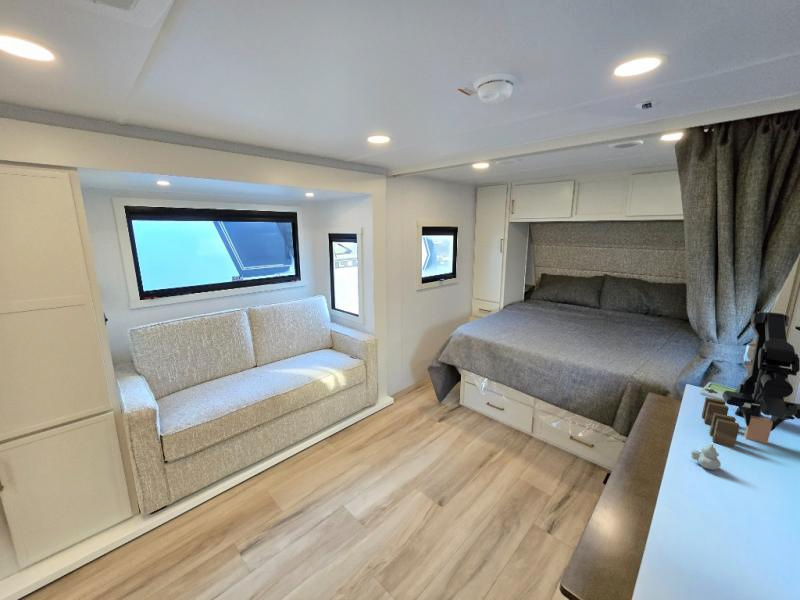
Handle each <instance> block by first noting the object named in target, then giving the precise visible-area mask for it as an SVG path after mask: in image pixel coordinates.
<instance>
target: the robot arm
mask: <svg viewBox="0 0 800 600" xmlns="http://www.w3.org/2000/svg"><path fill="white" fill-rule="evenodd" d="M789 322H790V316H787V314H784V313H778V312H771V311H757V312H754V313H752V314H751V319H750V323H751V324H752V326H751V328H752V330H753V331H754V334H755V335H756V339H755V345H754V351H753V356H752V361H751V367H750V373H749V374H748V375H747V376H746V377H744V378H743V379H742V381H741V383H739V384H738V386H737V388H736V389H737V391H736V392H732V391H725V392H724V393H723V398H724V400H725V404H727V405H728V406H735V407H738V408H737V409H736V410H735V413H734V414H735V415H736V416H740V417H742V418H743V419H744V422H745V426H746V427H747V426H749V423H750V417H751V416H756V417H761V418H763V414H764V415H765V416H771V417H770V420H772V421H773V424H772V428H771V432H773V431H774V430H775V429H776V428H778V426H779V425H780V424H781V423H783V422H784V421H786V420H792V421H793V420H795V419H798V420H800V403H796V402H791V401H785V400H784V398H788V397H790V396H791V395H792V394H793V393H794V387H793V385H792V384H791V382H790V380H789V376H790V375H791V376H795V377H796V376H797V373H799V372H800V357H799V354H798V353H796V350H795V347H794V345H792V344H791V343H789V342H788V340H787V339H788V338H787V328H788V327H789Z"/></svg>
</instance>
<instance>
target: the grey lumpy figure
mask: <svg viewBox="0 0 800 600" xmlns="http://www.w3.org/2000/svg"><path fill="white" fill-rule="evenodd" d="M719 456H720V454H719V452H717V450H716V448H715V447H714V443H713V444H707V445H704V446H703V447H702V448H701V449H700V451H699V450H695V449H691V455H690V457H691V458H692V459H693V460H695V461H697V463H699V465H700V466H701V467H702V468H706V469H707V470H712V471H713V470H717V469H719V468H720V467H721V461H720V460H719V458H718V457H719Z"/></svg>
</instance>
